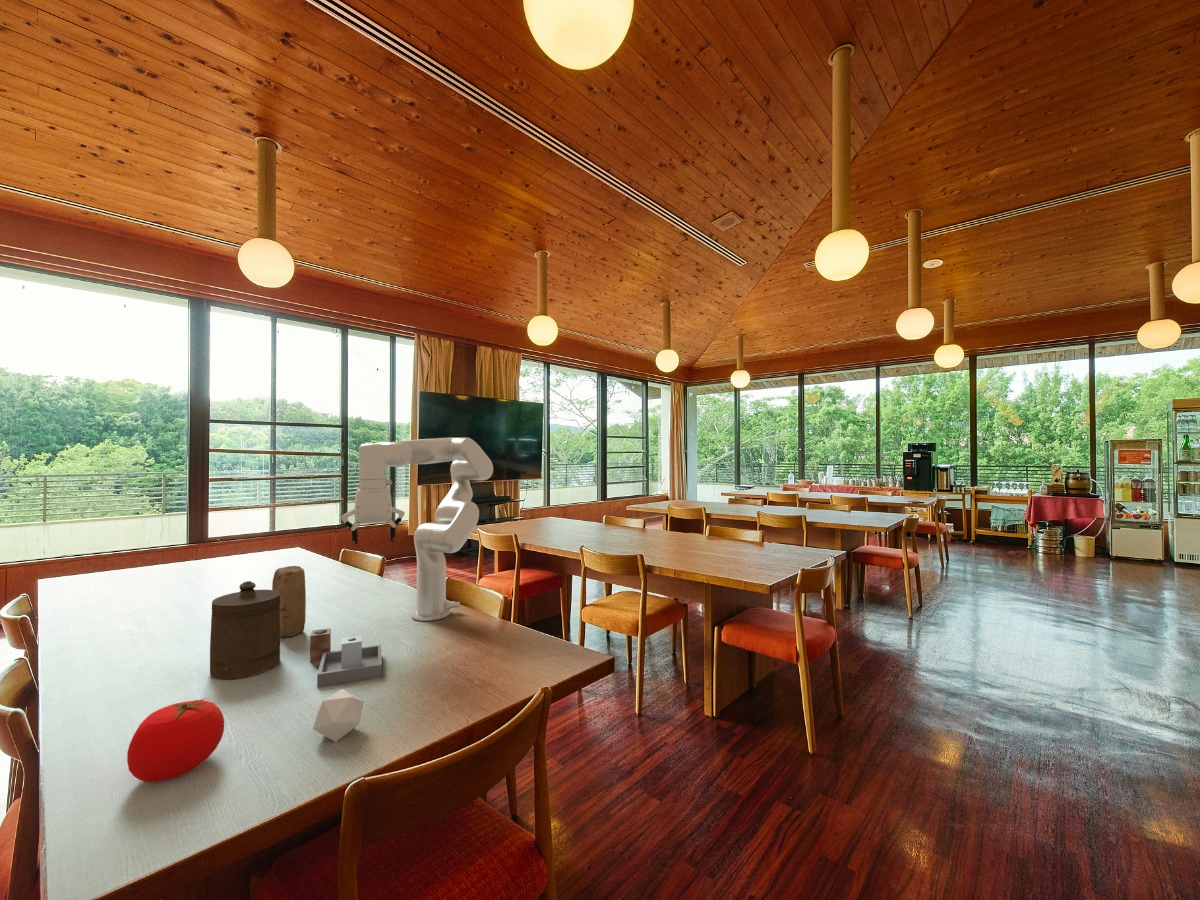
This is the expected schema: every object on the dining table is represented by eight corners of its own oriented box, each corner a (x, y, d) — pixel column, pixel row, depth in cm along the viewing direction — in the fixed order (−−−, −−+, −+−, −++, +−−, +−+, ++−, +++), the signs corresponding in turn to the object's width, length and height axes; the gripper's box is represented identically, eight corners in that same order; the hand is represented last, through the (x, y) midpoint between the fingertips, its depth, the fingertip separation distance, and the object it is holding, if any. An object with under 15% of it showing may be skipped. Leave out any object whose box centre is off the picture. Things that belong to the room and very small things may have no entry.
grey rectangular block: (361, 662, 130) (361, 635, 130) (361, 669, 126) (361, 640, 126) (342, 665, 128) (342, 637, 128) (341, 672, 124) (341, 643, 124)
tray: (381, 655, 136) (381, 644, 136) (381, 676, 124) (381, 664, 124) (322, 664, 131) (323, 652, 131) (317, 687, 118) (317, 674, 118)
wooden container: (273, 650, 139) (273, 572, 139) (286, 667, 129) (287, 582, 129) (205, 666, 129) (206, 581, 129) (214, 686, 118) (215, 593, 118)
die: (338, 722, 104) (308, 695, 100) (376, 700, 105) (347, 673, 100) (330, 757, 97) (297, 730, 92) (370, 734, 97) (339, 706, 93)
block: (307, 634, 152) (307, 568, 152) (278, 640, 146) (279, 573, 147) (296, 625, 159) (297, 563, 160) (269, 631, 154) (269, 566, 154)
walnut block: (330, 653, 138) (330, 627, 138) (329, 659, 134) (329, 633, 134) (311, 656, 136) (312, 630, 136) (309, 662, 132) (310, 635, 132)
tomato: (107, 785, 83) (108, 716, 83) (198, 740, 96) (199, 681, 96) (152, 804, 79) (153, 731, 79) (242, 755, 91) (242, 692, 91)
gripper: (403, 482, 155) (404, 536, 156) (340, 485, 148) (342, 542, 148) (405, 484, 149) (405, 541, 149) (340, 487, 141) (341, 547, 142)
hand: (374, 541), depth 149 cm, fingers open, 9 cm apart
